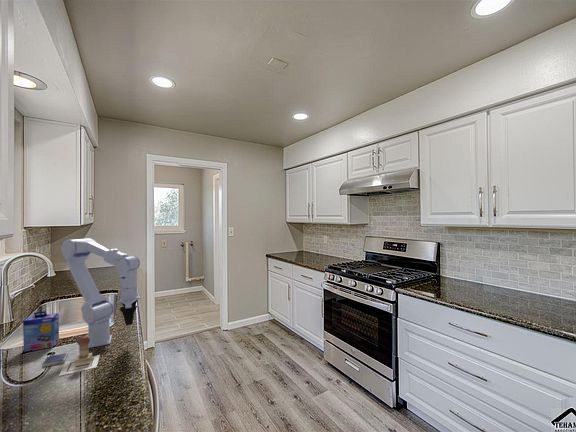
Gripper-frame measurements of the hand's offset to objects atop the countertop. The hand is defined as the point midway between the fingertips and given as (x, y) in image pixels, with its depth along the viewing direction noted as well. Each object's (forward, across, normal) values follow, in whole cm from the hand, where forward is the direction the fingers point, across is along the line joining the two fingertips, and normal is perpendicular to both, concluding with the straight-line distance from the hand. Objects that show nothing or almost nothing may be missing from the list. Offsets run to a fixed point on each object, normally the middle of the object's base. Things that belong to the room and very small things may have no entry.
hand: (129, 321), depth 110 cm
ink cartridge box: (+10, +17, +31) cm, 37 cm away
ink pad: (+9, -1, +23) cm, 25 cm away
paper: (+10, -8, +14) cm, 19 cm away
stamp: (+9, -8, +14) cm, 18 cm away
